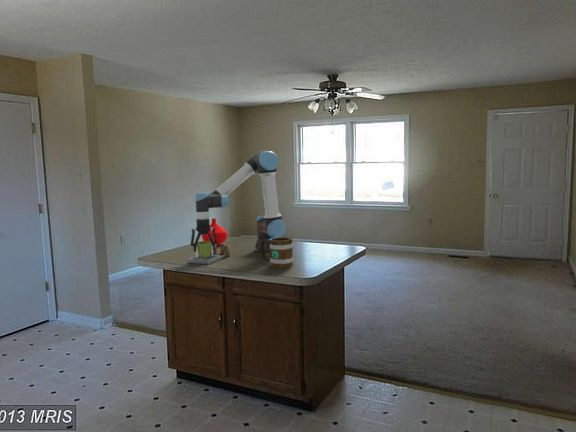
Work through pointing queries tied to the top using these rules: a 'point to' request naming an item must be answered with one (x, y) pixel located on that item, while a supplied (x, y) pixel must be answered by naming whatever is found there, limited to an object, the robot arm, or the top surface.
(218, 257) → the tray
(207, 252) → the plant pot
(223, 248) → the posts
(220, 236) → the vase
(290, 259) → the mug
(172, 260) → the top surface
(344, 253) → the top surface
